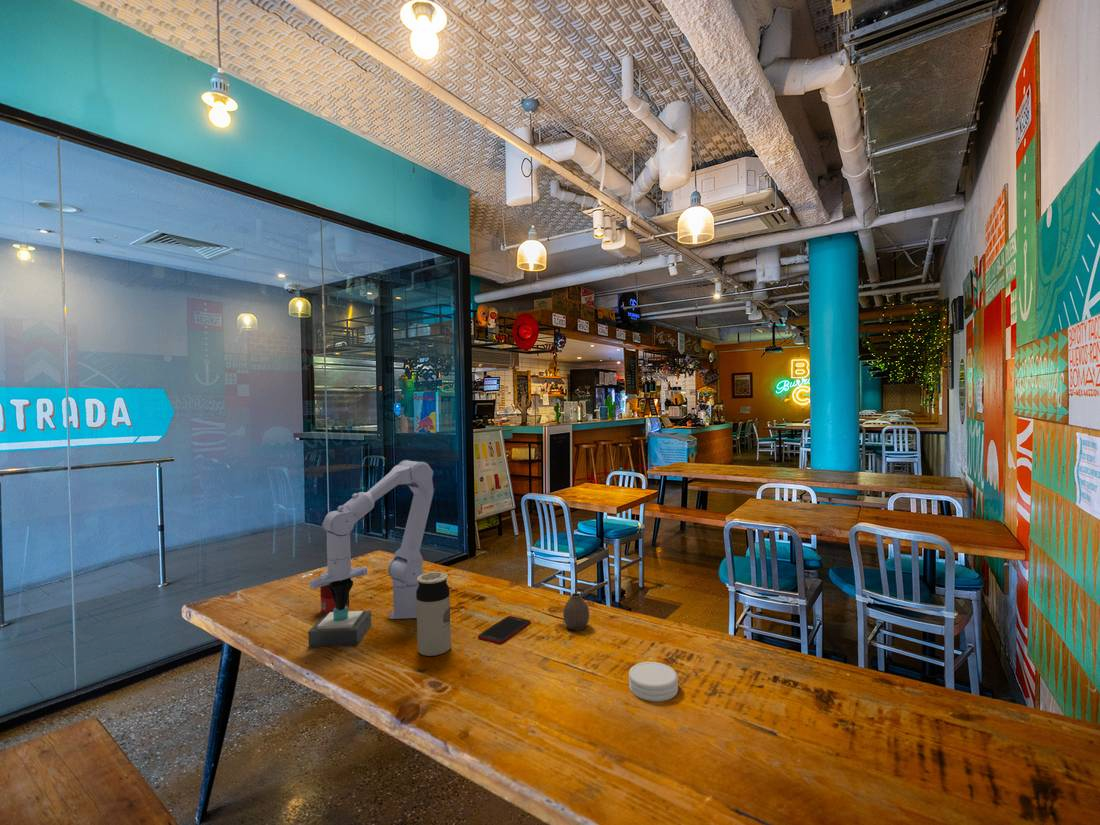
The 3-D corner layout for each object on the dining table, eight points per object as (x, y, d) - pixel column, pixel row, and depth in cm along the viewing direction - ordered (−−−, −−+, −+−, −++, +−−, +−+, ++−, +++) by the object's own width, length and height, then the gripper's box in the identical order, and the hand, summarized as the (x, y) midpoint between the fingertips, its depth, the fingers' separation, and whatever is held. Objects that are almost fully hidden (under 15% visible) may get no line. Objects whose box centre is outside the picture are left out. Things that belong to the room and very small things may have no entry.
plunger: (363, 614, 141) (362, 601, 141) (352, 628, 132) (352, 614, 132) (330, 615, 141) (329, 603, 141) (317, 629, 132) (316, 616, 132)
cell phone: (476, 640, 133) (476, 636, 133) (508, 618, 146) (508, 615, 146) (501, 646, 129) (501, 642, 129) (532, 624, 142) (532, 620, 142)
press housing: (371, 625, 143) (370, 610, 143) (357, 645, 131) (356, 629, 131) (326, 627, 142) (326, 612, 142) (308, 647, 130) (308, 631, 130)
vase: (589, 622, 142) (589, 590, 142) (589, 633, 135) (588, 599, 135) (564, 621, 142) (563, 589, 142) (562, 632, 136) (561, 599, 135)
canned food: (343, 615, 150) (342, 577, 150) (316, 615, 151) (314, 577, 150) (353, 604, 158) (352, 568, 158) (327, 605, 158) (326, 569, 158)
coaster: (641, 706, 102) (641, 689, 102) (621, 681, 112) (621, 664, 112) (687, 698, 105) (686, 680, 105) (663, 673, 114) (663, 657, 114)
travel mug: (410, 652, 126) (408, 579, 126) (432, 639, 133) (430, 569, 133) (436, 659, 123) (434, 583, 122) (457, 645, 130) (455, 573, 129)
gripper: (357, 548, 144) (359, 597, 145) (304, 561, 134) (305, 613, 134) (370, 553, 140) (372, 603, 140) (316, 566, 129) (317, 620, 129)
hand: (340, 608), depth 137 cm, fingers closed, pressing on plunger
